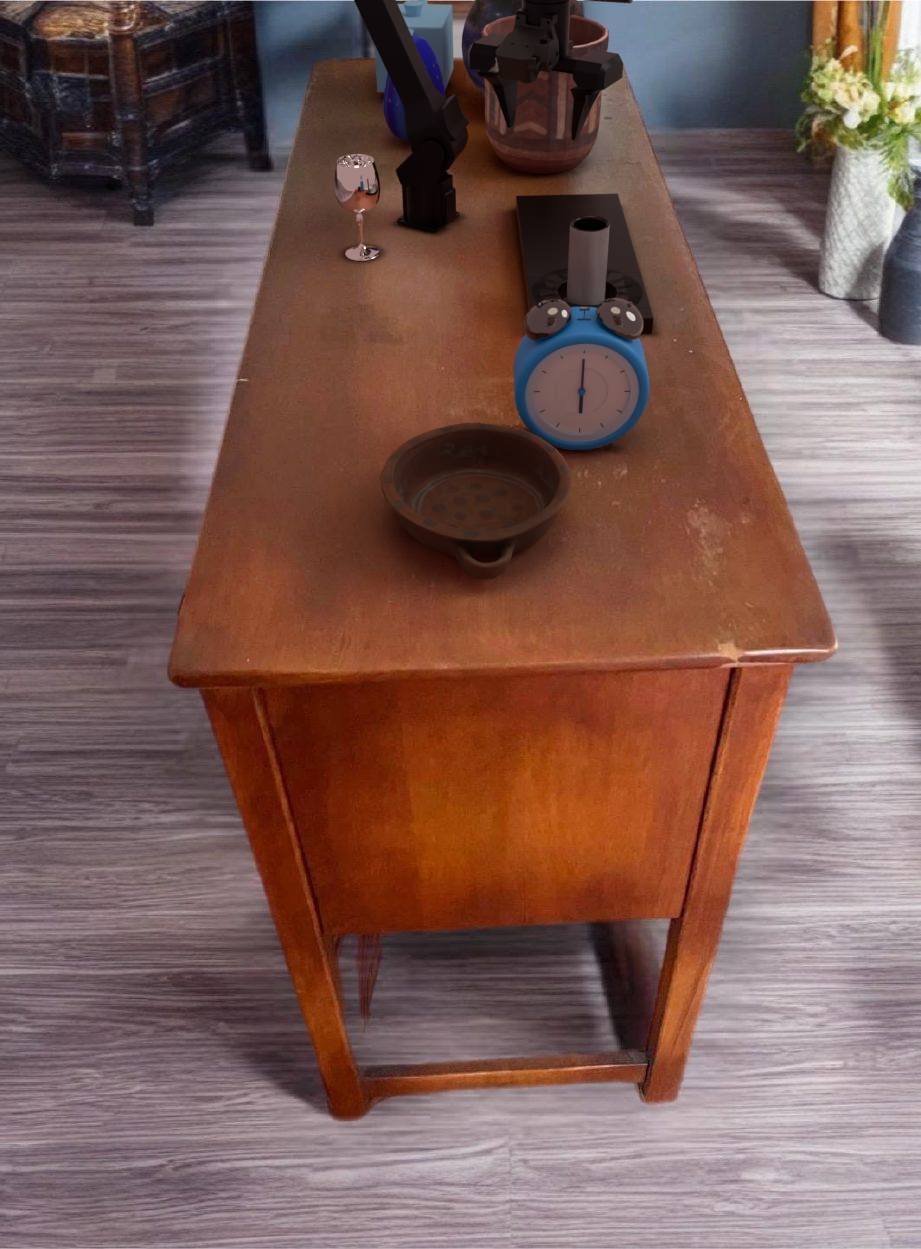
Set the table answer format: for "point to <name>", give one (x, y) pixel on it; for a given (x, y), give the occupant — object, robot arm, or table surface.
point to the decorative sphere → (487, 8)
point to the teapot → (426, 35)
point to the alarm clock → (581, 373)
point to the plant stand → (549, 248)
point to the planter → (587, 260)
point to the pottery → (545, 109)
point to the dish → (476, 491)
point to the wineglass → (357, 195)
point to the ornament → (391, 99)
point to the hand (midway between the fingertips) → (542, 133)
